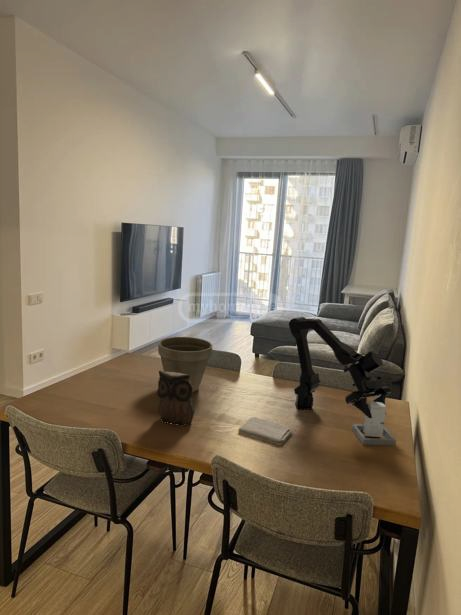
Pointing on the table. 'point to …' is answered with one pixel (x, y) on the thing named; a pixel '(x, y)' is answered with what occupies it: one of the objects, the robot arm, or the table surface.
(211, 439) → the table surface
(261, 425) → the washcloth
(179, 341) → the plant pot
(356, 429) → the socket
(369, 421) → the skincare box
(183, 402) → the owl
